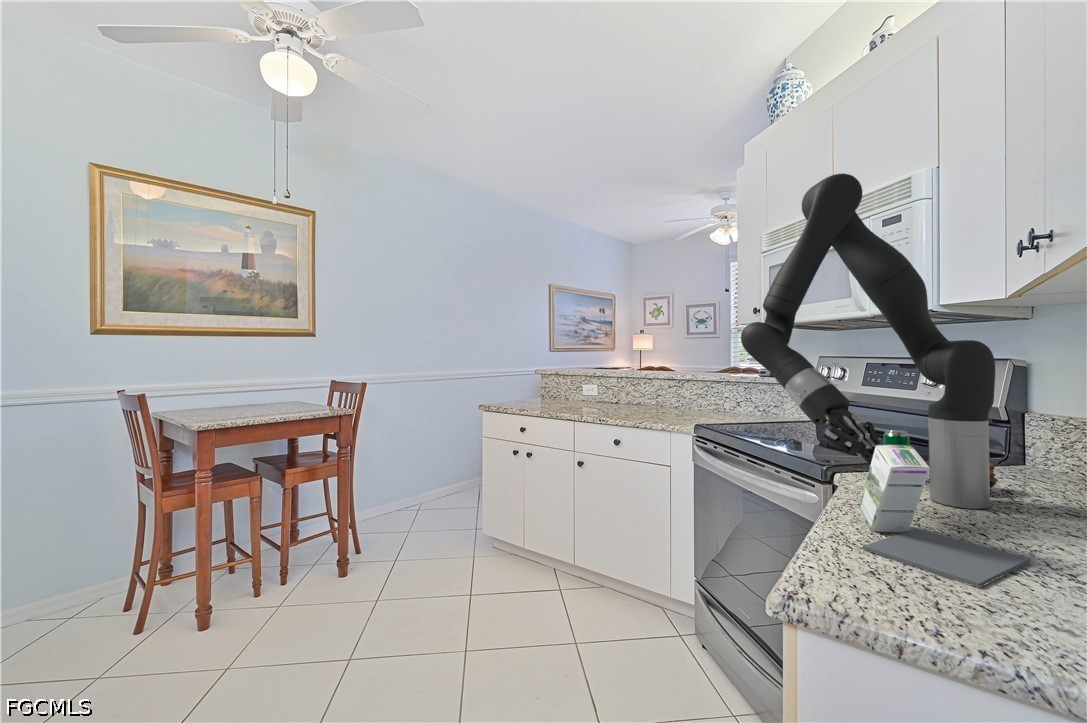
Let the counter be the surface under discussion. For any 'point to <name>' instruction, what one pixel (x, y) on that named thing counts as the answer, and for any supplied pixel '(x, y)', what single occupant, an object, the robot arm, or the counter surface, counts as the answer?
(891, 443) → the soda can
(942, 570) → the mat
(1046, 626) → the counter surface
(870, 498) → the syrup box
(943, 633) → the counter surface
